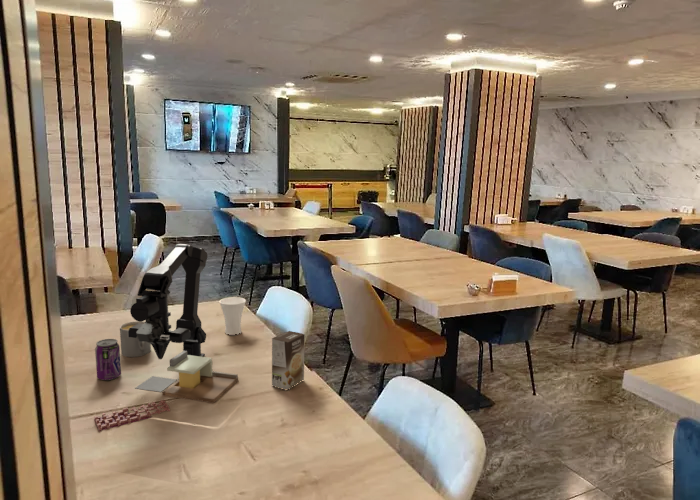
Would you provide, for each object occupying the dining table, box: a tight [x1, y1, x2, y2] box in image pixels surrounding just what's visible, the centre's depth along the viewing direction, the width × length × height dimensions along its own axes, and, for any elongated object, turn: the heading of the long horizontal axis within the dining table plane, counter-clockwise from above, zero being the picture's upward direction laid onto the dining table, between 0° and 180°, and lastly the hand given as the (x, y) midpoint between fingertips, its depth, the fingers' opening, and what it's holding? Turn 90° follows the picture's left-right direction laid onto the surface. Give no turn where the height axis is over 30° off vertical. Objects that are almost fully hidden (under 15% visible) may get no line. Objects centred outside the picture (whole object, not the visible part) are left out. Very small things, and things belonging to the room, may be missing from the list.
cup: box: [218, 296, 247, 336], centre depth 210 cm, size 10×10×14 cm
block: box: [178, 370, 200, 389], centre depth 162 cm, size 4×4×6 cm
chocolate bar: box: [93, 399, 171, 432], centre depth 144 cm, size 7×19×2 cm, turn 125°
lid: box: [166, 350, 213, 377], centre depth 162 cm, size 11×9×8 cm
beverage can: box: [94, 338, 122, 381], centre depth 167 cm, size 7×7×12 cm
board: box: [161, 370, 239, 403], centre depth 161 cm, size 16×17×2 cm
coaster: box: [134, 375, 178, 393], centre depth 163 cm, size 9×9×1 cm
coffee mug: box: [119, 320, 152, 358], centre depth 187 cm, size 13×10×10 cm
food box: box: [271, 330, 306, 390], centre depth 165 cm, size 9×6×16 cm
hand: (160, 358), depth 163 cm, fingers closed
